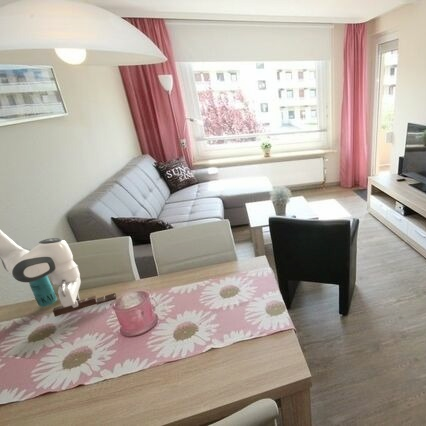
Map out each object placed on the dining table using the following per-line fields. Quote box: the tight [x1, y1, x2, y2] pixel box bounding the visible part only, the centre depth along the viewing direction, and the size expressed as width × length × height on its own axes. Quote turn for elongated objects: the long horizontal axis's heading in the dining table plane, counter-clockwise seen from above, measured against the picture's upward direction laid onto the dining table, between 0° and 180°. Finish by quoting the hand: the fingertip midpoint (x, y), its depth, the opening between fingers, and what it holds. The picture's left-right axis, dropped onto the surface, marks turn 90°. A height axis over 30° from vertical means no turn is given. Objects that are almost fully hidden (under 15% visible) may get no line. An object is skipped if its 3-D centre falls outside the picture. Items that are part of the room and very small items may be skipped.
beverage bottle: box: [28, 275, 58, 308], centre depth 126 cm, size 6×7×20 cm
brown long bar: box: [52, 292, 117, 317], centre depth 124 cm, size 21×4×3 cm, turn 122°
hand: (76, 304), depth 123 cm, fingers closed on brown long bar, 2 cm apart
